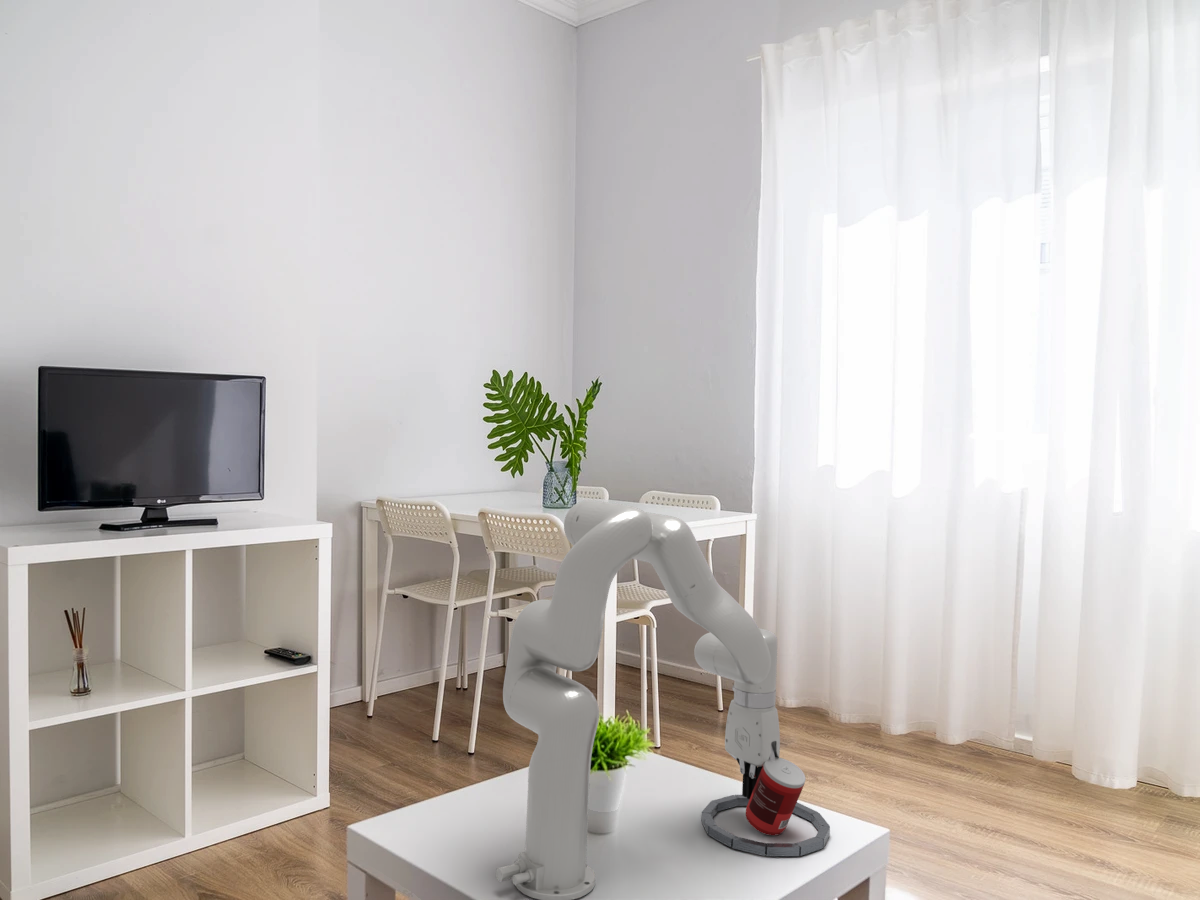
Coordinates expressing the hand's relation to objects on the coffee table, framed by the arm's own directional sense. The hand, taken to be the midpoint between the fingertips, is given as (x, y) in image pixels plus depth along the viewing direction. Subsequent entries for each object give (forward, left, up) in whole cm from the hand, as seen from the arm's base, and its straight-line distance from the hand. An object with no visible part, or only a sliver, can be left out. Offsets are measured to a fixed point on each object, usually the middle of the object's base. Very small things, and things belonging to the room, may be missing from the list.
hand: (751, 795), depth 170 cm
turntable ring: (-1, -5, -4) cm, 6 cm away
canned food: (-1, -4, -3) cm, 5 cm away
